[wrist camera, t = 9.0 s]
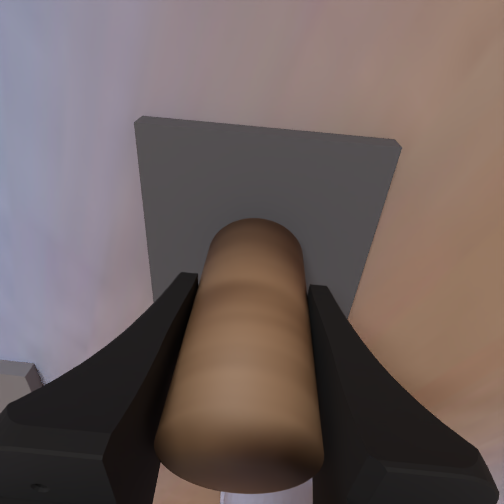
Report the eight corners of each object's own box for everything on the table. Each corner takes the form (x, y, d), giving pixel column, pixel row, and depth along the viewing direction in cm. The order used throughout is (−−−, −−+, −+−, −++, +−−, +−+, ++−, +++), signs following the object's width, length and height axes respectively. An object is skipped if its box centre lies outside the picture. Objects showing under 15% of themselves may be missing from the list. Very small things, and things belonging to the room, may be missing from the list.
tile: (38, 357, 24) (62, 422, 28) (-51, 347, 24) (-13, 413, 28) (24, 376, 23) (52, 441, 27) (-69, 365, 23) (-26, 432, 27)
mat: (339, 320, 20) (342, 334, 19) (160, 302, 20) (155, 315, 19) (394, 139, 14) (401, 147, 13) (142, 116, 14) (134, 122, 13)
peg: (294, 299, 16) (307, 500, 10) (207, 290, 16) (159, 485, 9) (310, 223, 14) (341, 418, 7) (208, 212, 14) (147, 397, 7)
